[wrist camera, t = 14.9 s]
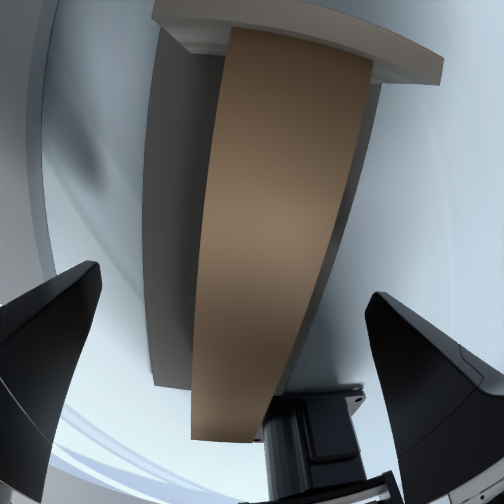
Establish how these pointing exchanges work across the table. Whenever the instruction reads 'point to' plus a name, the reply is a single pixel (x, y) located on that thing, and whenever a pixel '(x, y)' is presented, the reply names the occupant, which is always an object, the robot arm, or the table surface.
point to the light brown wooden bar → (273, 181)
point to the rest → (199, 205)
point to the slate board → (23, 146)
